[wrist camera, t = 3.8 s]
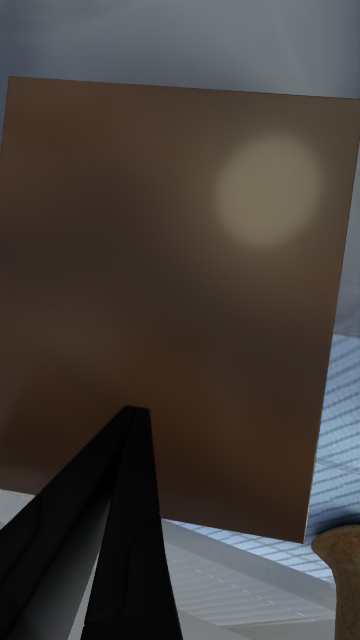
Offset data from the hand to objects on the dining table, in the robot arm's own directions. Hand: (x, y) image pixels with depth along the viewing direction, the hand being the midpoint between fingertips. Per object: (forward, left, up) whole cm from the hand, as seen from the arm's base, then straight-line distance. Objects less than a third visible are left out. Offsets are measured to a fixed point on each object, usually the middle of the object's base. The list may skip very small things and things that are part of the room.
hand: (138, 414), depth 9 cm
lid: (+3, -1, -3) cm, 4 cm away
